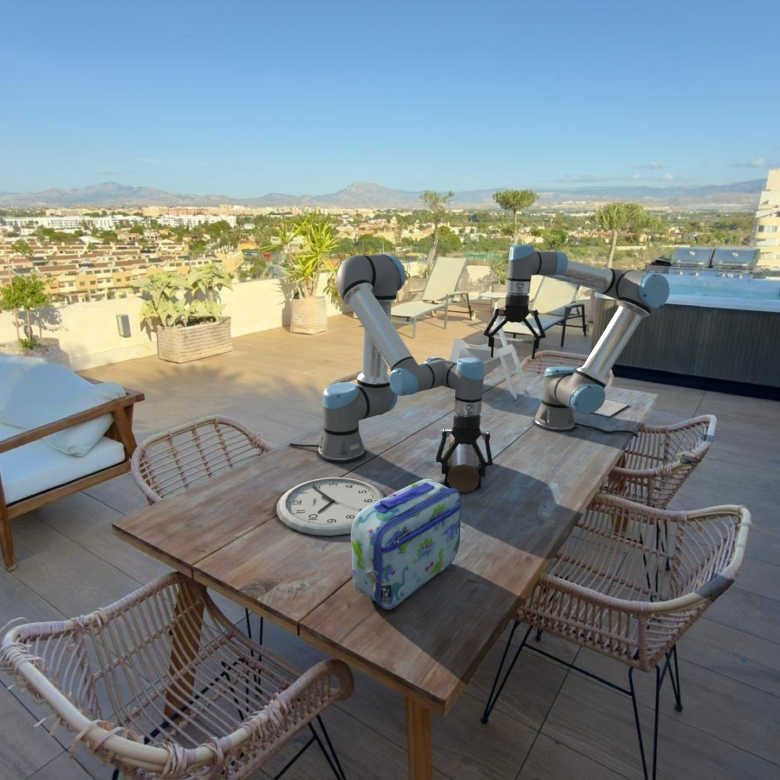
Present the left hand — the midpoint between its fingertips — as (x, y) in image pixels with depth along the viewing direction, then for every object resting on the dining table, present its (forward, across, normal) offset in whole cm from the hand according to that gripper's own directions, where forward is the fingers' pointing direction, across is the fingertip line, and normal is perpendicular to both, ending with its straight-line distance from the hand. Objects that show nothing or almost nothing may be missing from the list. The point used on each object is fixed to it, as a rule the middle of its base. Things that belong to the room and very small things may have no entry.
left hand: (462, 484), depth 154 cm
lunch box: (+1, -12, -45) cm, 47 cm away
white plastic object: (+1, +9, +94) cm, 95 cm away
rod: (0, 0, +9) cm, 9 cm away
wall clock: (+1, -35, -16) cm, 39 cm away
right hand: (-31, +15, +35) cm, 49 cm away
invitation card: (+1, +61, +83) cm, 103 cm away
